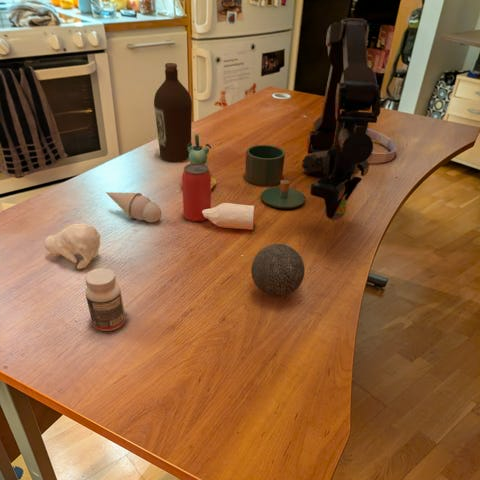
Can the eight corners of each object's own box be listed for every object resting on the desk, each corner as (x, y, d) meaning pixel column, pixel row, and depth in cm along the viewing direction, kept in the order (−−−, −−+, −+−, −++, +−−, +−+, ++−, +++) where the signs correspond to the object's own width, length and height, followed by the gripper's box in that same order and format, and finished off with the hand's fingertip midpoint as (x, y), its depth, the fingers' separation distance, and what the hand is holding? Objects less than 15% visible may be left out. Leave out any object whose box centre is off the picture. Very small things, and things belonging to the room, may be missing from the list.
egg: (320, 219, 104) (325, 195, 101) (325, 210, 108) (329, 186, 104) (342, 224, 103) (347, 199, 99) (346, 214, 107) (351, 190, 103)
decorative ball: (263, 313, 85) (267, 268, 78) (241, 282, 92) (244, 239, 85) (310, 301, 88) (318, 257, 82) (286, 272, 95) (291, 230, 88)
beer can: (206, 224, 109) (206, 175, 101) (180, 220, 110) (177, 171, 102) (213, 211, 114) (213, 164, 106) (188, 208, 115) (186, 160, 107)
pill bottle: (95, 311, 83) (85, 266, 77) (127, 310, 84) (119, 265, 77) (90, 332, 79) (79, 286, 73) (123, 332, 80) (115, 285, 73)
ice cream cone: (106, 207, 113) (159, 230, 110) (94, 201, 107) (149, 225, 104) (116, 184, 113) (169, 206, 110) (104, 176, 107) (159, 200, 104)
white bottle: (204, 218, 111) (203, 196, 108) (253, 221, 111) (255, 200, 107) (200, 230, 107) (200, 208, 103) (251, 234, 106) (253, 212, 103)
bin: (257, 167, 136) (258, 142, 131) (288, 176, 132) (291, 150, 127) (238, 179, 129) (239, 153, 124) (270, 189, 125) (273, 162, 120)
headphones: (325, 158, 143) (390, 173, 139) (331, 135, 138) (398, 150, 134) (337, 135, 159) (395, 148, 155) (342, 114, 154) (402, 127, 151)
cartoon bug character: (171, 200, 118) (168, 139, 109) (188, 178, 133) (187, 124, 124) (207, 203, 117) (208, 143, 108) (221, 181, 132) (222, 127, 123)
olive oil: (187, 148, 145) (183, 58, 129) (198, 160, 138) (196, 67, 122) (154, 151, 142) (146, 60, 125) (163, 164, 134) (156, 69, 118)
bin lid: (274, 187, 126) (276, 168, 123) (312, 198, 122) (314, 179, 118) (253, 202, 119) (254, 183, 115) (292, 215, 114) (294, 195, 111)
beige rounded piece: (81, 234, 87) (28, 228, 90) (92, 272, 92) (42, 265, 95) (99, 219, 91) (48, 213, 94) (108, 256, 97) (60, 249, 100)
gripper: (329, 124, 104) (319, 189, 114) (291, 148, 92) (284, 219, 102) (376, 135, 100) (361, 201, 110) (343, 162, 87) (330, 234, 98)
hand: (334, 213), depth 105 cm, fingers closed on egg, 5 cm apart
